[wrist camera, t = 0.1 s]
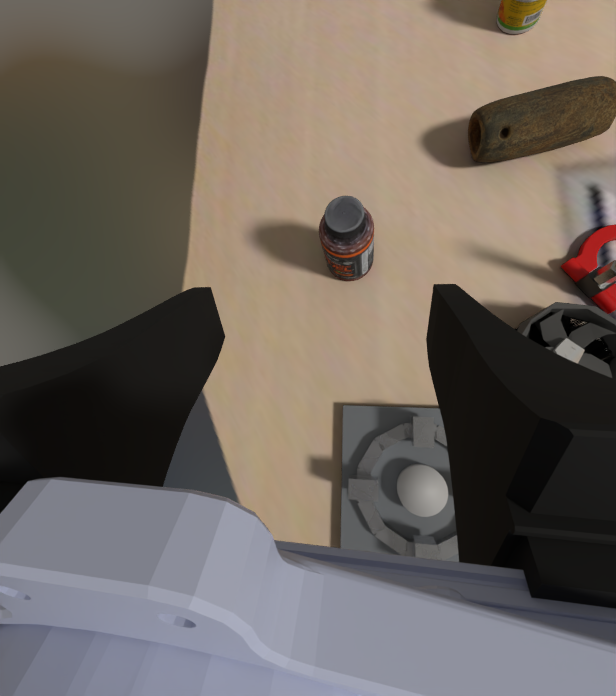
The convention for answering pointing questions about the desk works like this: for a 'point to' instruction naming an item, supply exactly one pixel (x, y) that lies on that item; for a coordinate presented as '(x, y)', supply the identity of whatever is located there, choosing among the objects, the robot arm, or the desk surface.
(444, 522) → the cap plate
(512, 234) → the desk surface
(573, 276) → the tow hook
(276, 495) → the desk surface
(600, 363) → the cpu cooler
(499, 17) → the supplement bottle
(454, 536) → the ring nut
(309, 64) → the desk surface
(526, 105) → the brown hollow cylinder
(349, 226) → the supplement bottle
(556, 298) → the desk surface
